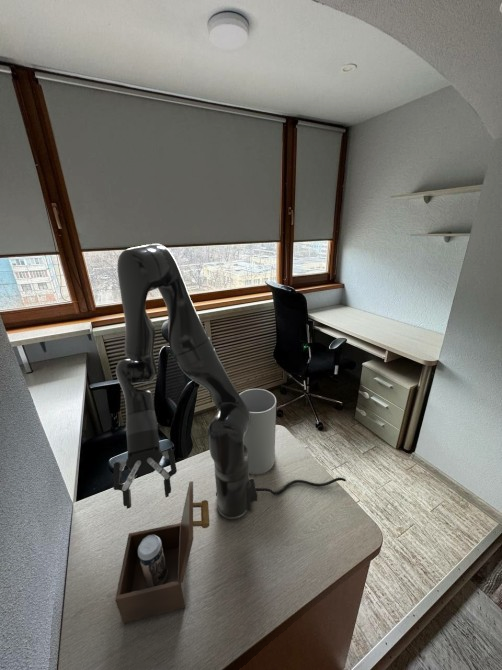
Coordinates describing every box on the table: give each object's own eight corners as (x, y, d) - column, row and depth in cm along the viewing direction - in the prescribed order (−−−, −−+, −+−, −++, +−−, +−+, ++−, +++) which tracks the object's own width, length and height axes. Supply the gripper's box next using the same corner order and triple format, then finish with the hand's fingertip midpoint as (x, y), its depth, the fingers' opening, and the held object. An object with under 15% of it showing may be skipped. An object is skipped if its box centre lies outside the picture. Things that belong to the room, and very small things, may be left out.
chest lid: (188, 539, 49) (212, 538, 51) (189, 481, 61) (208, 481, 62) (178, 583, 54) (200, 580, 55) (180, 521, 65) (199, 520, 66)
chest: (123, 623, 55) (114, 600, 52) (135, 556, 66) (128, 533, 63) (185, 607, 57) (181, 584, 54) (186, 544, 68) (182, 522, 65)
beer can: (161, 592, 59) (153, 559, 54) (141, 587, 60) (132, 554, 55) (171, 567, 63) (164, 534, 59) (153, 562, 64) (145, 530, 60)
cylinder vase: (281, 460, 93) (284, 400, 83) (256, 482, 85) (255, 419, 75) (256, 440, 101) (256, 384, 92) (231, 459, 93) (227, 399, 84)
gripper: (108, 437, 64) (111, 515, 58) (170, 423, 68) (179, 495, 62) (115, 439, 70) (119, 509, 65) (171, 426, 75) (179, 491, 69)
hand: (148, 502), depth 64 cm, fingers open, 8 cm apart
